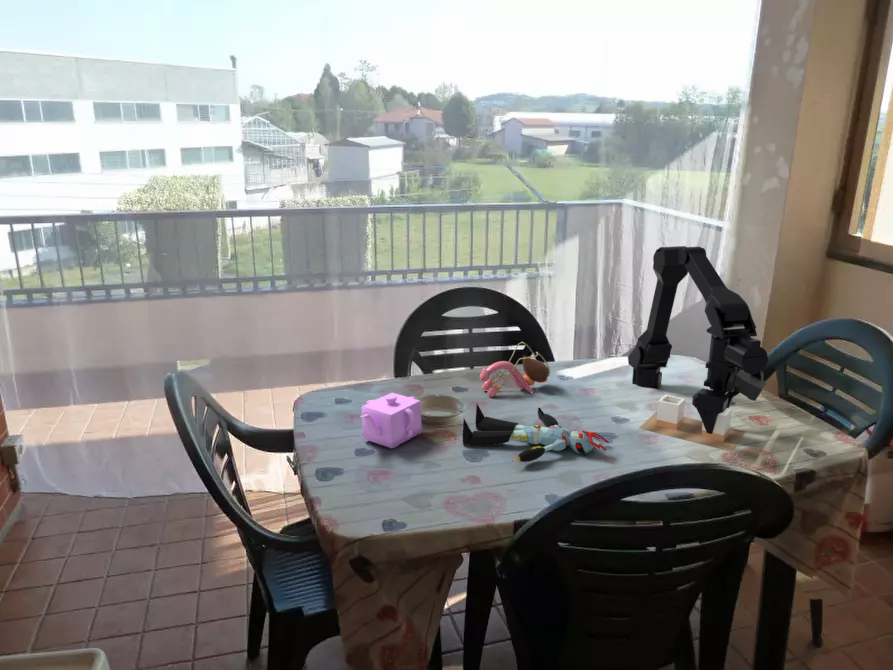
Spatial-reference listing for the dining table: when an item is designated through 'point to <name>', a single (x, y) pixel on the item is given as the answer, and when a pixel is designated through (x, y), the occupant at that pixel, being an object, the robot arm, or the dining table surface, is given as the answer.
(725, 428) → the sleeve loose
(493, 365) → the anatomy model
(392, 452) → the dining table surface
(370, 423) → the teapot
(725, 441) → the pin board
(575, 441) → the toy
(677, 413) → the sleeve seated
